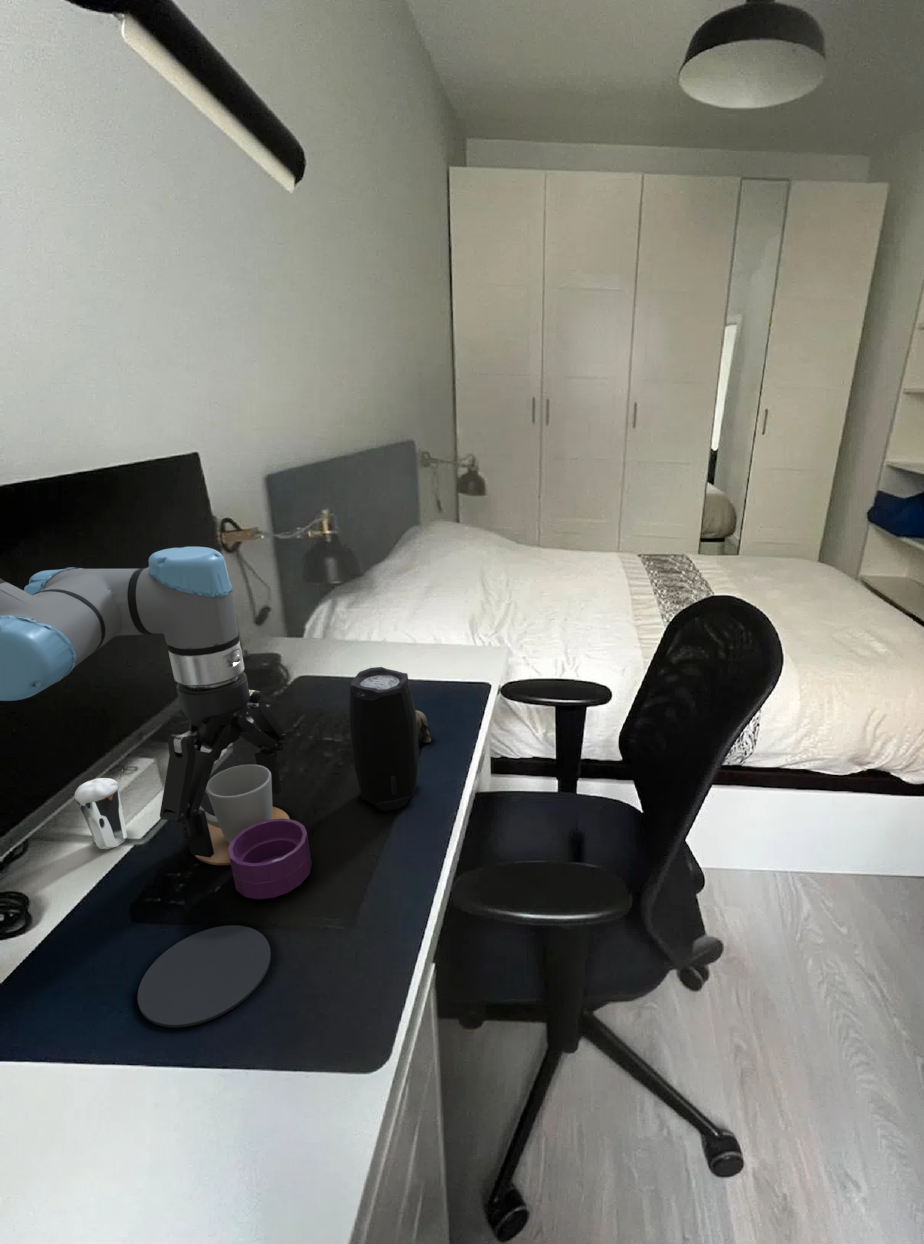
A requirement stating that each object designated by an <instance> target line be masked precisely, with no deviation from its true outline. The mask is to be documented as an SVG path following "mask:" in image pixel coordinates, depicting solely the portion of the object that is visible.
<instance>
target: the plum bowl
mask: <svg viewBox="0 0 924 1244" xmlns="http://www.w3.org/2000/svg"><path fill="white" fill-rule="evenodd" d="M308 836H309V835H308V832H307V829H306V827H305V825H304V824H302V823H301V822H299V821H297V820H295V819H290V818H289V819H283V818H282V819H270V820H266V821H263V822H259V823H256V824H253V825H252V826H250V827H248V828H246V829H244V830H242V831H241V832H240V833H239V834H238V835H237V836H235V837H234V838H233V839H232V841H231V843H230V845H229V847H228V854H229V859H230V863H231V865H230V868H231V872H232V877H233V883H234V887H235V890H236V892H238V893H239V894H240V895H241V896H243V897H245V898H248V899H253V900H266V899H274V898H277V897H280V896H282V895H285V894H288V893H290V892H292V891H293V890H295V889H296V888H298V887H299V886H301V885H302V884H303V883H304V881H305V880H306V879H307V878H308V877H309V875H310V873H311V870H312V865H313V863H312V855H311V850H310V844H309V837H308Z"/></svg>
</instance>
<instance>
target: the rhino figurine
mask: <svg viewBox="0 0 924 1244" xmlns="http://www.w3.org/2000/svg"><path fill="white" fill-rule="evenodd" d="M415 710H416V721H417V735H418V736H419V732H420V731H421V733H422V735H423V739H422V743H425V744H429V743H431V742H432V738H431V737H430V732H429V730H428V719H427V716H426V715H425V713H423V712H422V711H420V710H417V709H415Z"/></svg>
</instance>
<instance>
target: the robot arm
mask: <svg viewBox="0 0 924 1244" xmlns="http://www.w3.org/2000/svg"><path fill="white" fill-rule="evenodd" d="M233 592H234V588H233V584H232V583H231V580H230V576H229V572H228V567H227V563H226V560H225V557H224V555H223V554H222V553H221V552H220V551H218V550H216V549H214V548H211V547H206V546H182V547H171V548H165V549H161V550H158V551H155V552H153V553H152V554H151V555H150V556H149V557H148V566H147V567H144V568H82V567H75V566H74V567H65V568H61V569H48V570H47V569H46V570H41V571H39V572H36V573H35V574H33V575H32V576H31V577H29V581H28V584H27V585H25V586H24V589H21V588H19V587H17V586H15V585H13V584H11V583H10V582H7V581H5V580H3V578H0V702H3V701H4V702H11V701H12V702H13V701H15V702H16V701H19V700H20V701H21V700H25V699H28V698H31V697H34V696H35V695H37V694H39V693H40V692H42V691H44V690H46V689H47V688H49V687H50V686H52V685H54V684H56V683H59V682H60V681H62V679H63V678H65V677H67V676H68V675H69V674H70V673H71V672H72V671H73V669H75V667H77V666H78V665H80V664H81V663H82V662H83V661H84V660H85V659H87V658H88V657H89V656H91V655H92V654H94V653H96V652H97V651H98V650H99V649H101V648H102V647H103V646H105V645H106V644H108V642H110V641H111V640H112V639H114V637H118V636H141V635H142V636H143V635H146V636H147V635H156V634H157V635H158V634H161V635H163V637H164V639H165V644H166V648H167V652H168V656H169V660H170V661H169V662H170V666H171V671H172V675H173V676H172V677H173V680H174V682H177V683H176V686H175V687H176V693H177V697H178V702H179V706H180V710H181V711H182V713H183V714H184V715H185V717H187V719H188V720H189V726H188V731H186V732H185V733H182V734H170V735H169V736H168V739H167V746H168V752H169V754H168V755H169V756H168V762H167V767H166V768H167V770H166V775H165V781H164V785H163V786H164V787H163V792H162V798H161V805H160V810H159V812H160V813H159V818H160V819H161V820H166V821H172V822H176V823H178V824H179V828H180V832H181V836H182V837H183V838H184V839H186V840H187V843H188V844H187V845H188V850H189V852H190V855H193V856H194V855H198V856H203V857H208V858H210V857H211V856H212V855H213V854H214V850H213V846H212V841H211V837H210V832H209V828H208V823H207V819H206V814H205V811H206V810H205V809H204V810H199V808H200V805H201V806H202V803H203V799H204V796H205V790H206V787H207V784H208V781H209V780H210V779H211V774H212V772H213V768H214V766H215V763H216V762H217V761H219V760H220V758H221V755H222V753H223V751H224V750H226V749H227V748H228V747H229V746H230V745H231V744H232V743H235V742H237V741H238V740H239V739H240V737H241V738H242V739H243V740H245V741H247V742H249V743H250V744H252V745H253V746H255V747H257V748H258V749H257V750H256V751H254V757H255V763H256V764H255V765H260V766H264V767H266V768H267V769H268V770H269V771H270V772H271V780H272V795H279V794H281V793H282V786H281V777H280V773H279V765H280V763H279V757H278V752H282V751H283V749H284V743H283V742H280V741H284V740H285V739H286V736H287V733H286V732H285V729H284V728H283V727H282V725H281V724H280V723H279V721H278V720H277V718H276V717H275V716H274V714H273V712H272V711H271V709H270V708H269V707H268V705H267V704H266V701H265V697H264V693H263V691H259V690H254V689H249V683H248V676H247V673H245V672H244V671H245V663H244V658H243V651H242V647H241V640H240V633H239V628H238V620H237V614H236V608H235V602H234V600H235V599H234V595H233ZM247 714H248V715H249V717H250V718H251V719H252V720H253V722H254V723H255V724H254V723H253V722H252V721H249V720H248V718H247ZM256 726H257V727H258V728H257V727H256ZM202 747H203V748H204V749H206V750H210V751H209V752H208V751H202ZM260 749H261V750H260Z"/></svg>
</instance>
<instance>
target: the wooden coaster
mask: <svg viewBox="0 0 924 1244" xmlns="http://www.w3.org/2000/svg"><path fill="white" fill-rule="evenodd" d="M282 818H283V819H290V816H289V815H288V813H287V812H285V811H284V810H283V809H280V808H279V807H276V806H272V819H282ZM208 828H209V832H210V837H211V841H212V846H213V850H214V854H213V855H212V856H211V857H210V858H208V857H203V856H198V855H193V856H194V857H195V858H196V860H198V861H200V862H202V863H204V864H209V865H211V866H212V865H213V866H231V863H230V859H229V854H228V847H229V845H230V844H229V843H228V842H227V841H226V839H225V837H224V835H223V832H222V830H221V828H218V827H215V826H212V825H210V824H208Z"/></svg>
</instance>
